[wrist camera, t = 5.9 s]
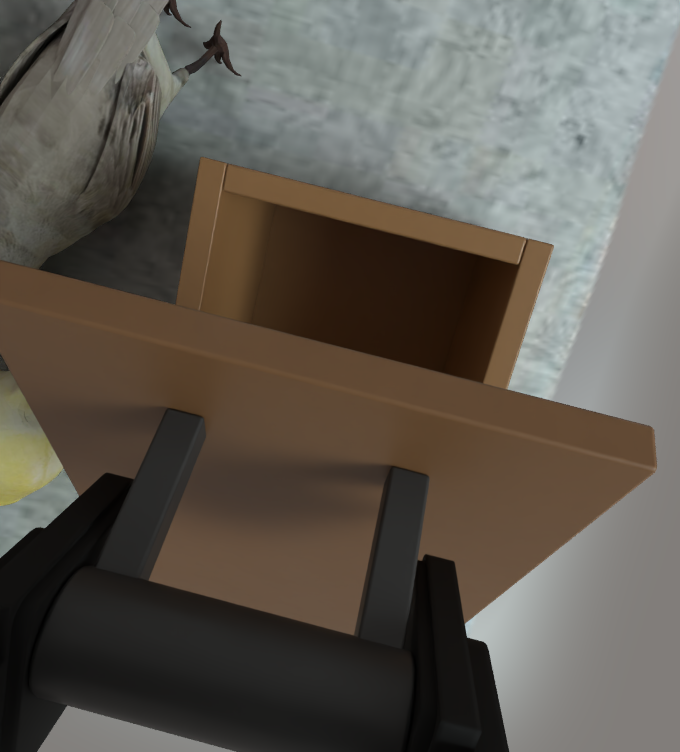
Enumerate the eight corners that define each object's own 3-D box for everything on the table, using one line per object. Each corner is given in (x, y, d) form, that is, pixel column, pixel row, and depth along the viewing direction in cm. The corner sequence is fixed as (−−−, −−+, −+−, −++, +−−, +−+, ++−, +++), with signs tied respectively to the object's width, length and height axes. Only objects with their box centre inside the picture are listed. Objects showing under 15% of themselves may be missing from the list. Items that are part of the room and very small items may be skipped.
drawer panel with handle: (-9, 255, 10) (-278, 600, 7) (655, 425, 10) (694, 863, 6) (131, 552, 22) (57, 726, 19) (428, 631, 21) (403, 820, 18)
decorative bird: (-39, 256, 30) (-177, 270, 23) (165, -33, 26) (76, -127, 19) (50, 333, 30) (-56, 370, 23) (262, 62, 27) (213, 6, 19)
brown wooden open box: (267, 175, 28) (200, 156, 18) (500, 233, 27) (554, 245, 18) (212, 452, 31) (132, 556, 22) (417, 506, 31) (426, 634, 22)
